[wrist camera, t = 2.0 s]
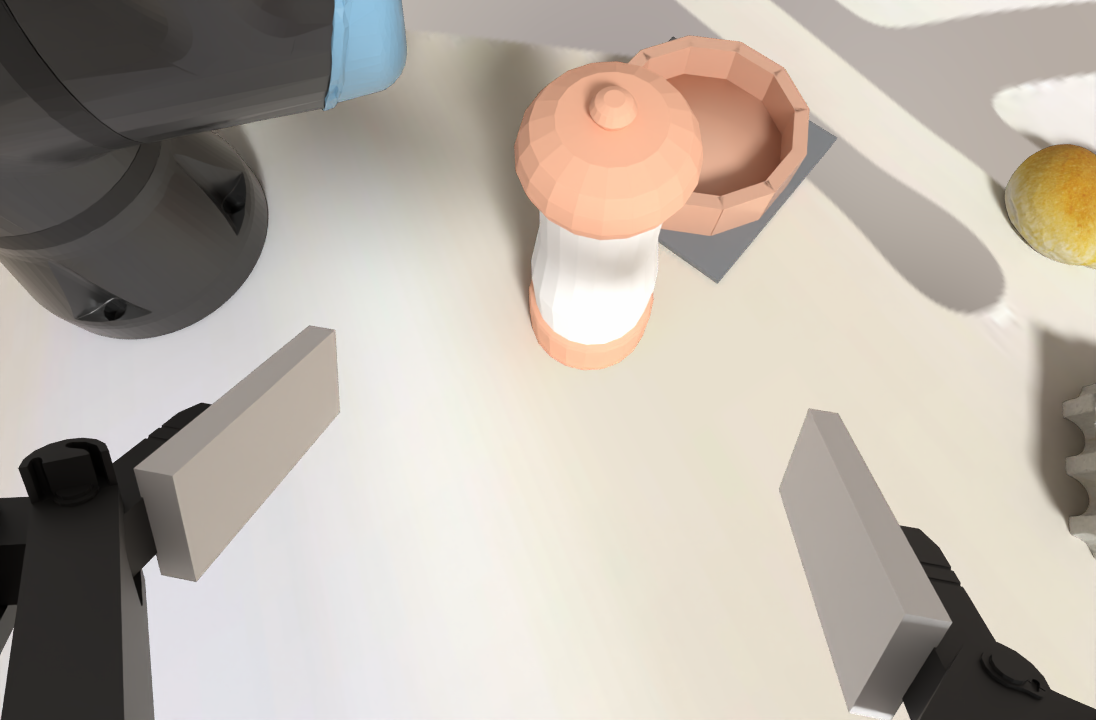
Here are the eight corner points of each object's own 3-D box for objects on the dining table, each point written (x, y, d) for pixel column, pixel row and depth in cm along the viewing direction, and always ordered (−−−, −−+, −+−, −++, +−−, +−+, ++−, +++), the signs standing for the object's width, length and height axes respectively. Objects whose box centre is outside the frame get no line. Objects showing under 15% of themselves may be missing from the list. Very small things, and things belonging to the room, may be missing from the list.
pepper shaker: (629, 253, 39) (689, -4, 21) (659, 356, 37) (755, 169, 19) (520, 276, 39) (486, 34, 21) (544, 381, 37) (529, 214, 19)
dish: (561, 161, 41) (562, 129, 38) (674, 44, 44) (683, 7, 41) (716, 270, 38) (730, 245, 35) (826, 138, 41) (847, 105, 38)
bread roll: (1001, 151, 42) (1045, 110, 38) (1138, 182, 41) (1198, 143, 37) (992, 254, 39) (1039, 222, 35) (1137, 289, 38) (1202, 260, 34)
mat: (550, 165, 42) (550, 162, 41) (672, 40, 45) (672, 36, 44) (717, 283, 39) (719, 280, 38) (835, 141, 42) (837, 137, 41)
